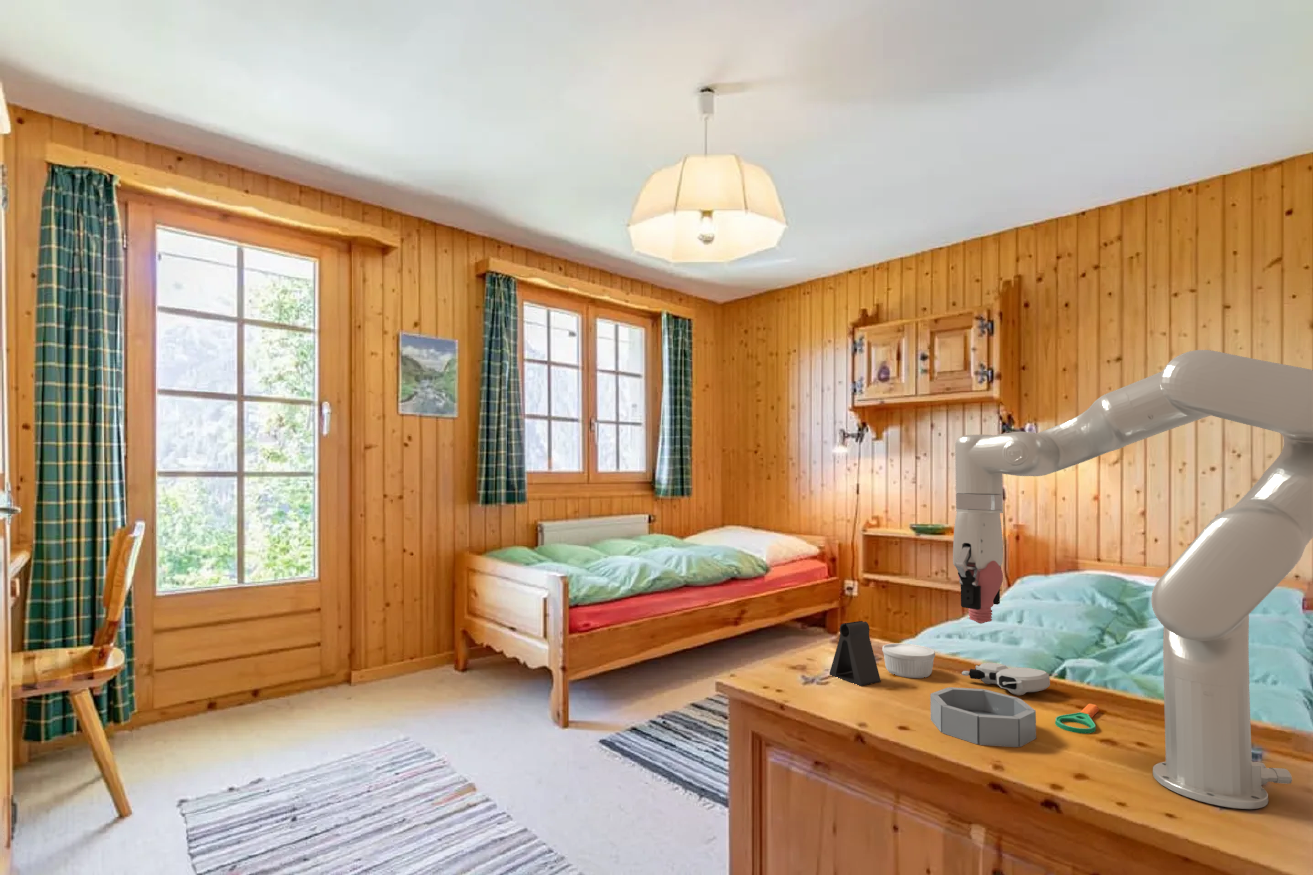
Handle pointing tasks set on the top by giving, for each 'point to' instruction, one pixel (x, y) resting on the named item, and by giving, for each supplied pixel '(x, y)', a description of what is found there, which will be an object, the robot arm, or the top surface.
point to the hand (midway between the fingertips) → (980, 604)
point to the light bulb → (987, 591)
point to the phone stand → (855, 655)
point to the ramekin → (908, 660)
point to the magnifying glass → (1079, 720)
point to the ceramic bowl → (983, 717)
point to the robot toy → (1011, 677)
